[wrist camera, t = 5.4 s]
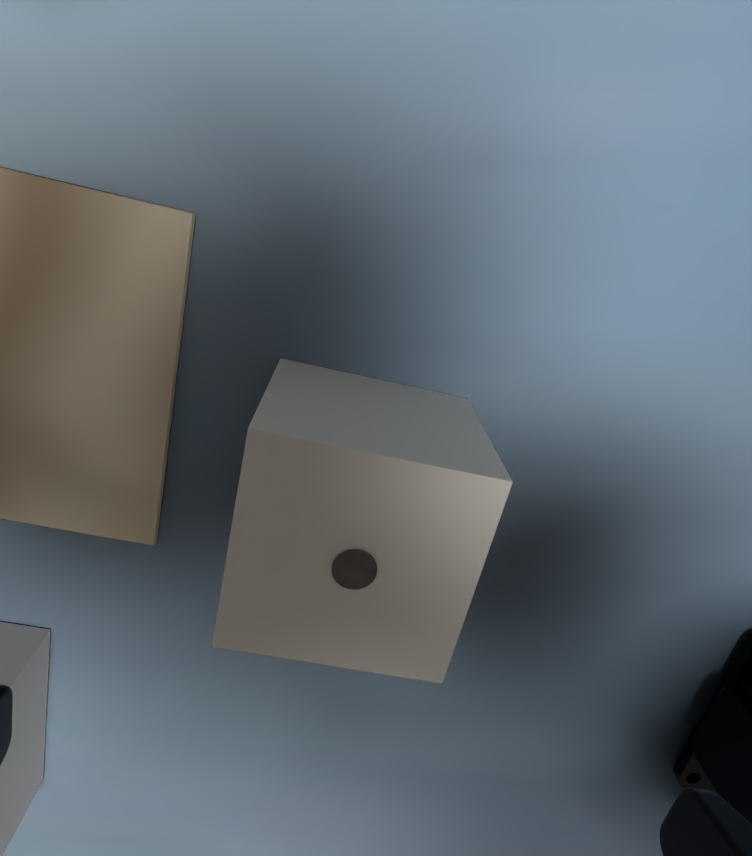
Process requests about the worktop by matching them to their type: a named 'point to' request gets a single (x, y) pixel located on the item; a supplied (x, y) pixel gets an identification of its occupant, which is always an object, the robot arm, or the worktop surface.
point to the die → (358, 524)
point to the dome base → (23, 721)
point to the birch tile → (87, 354)
